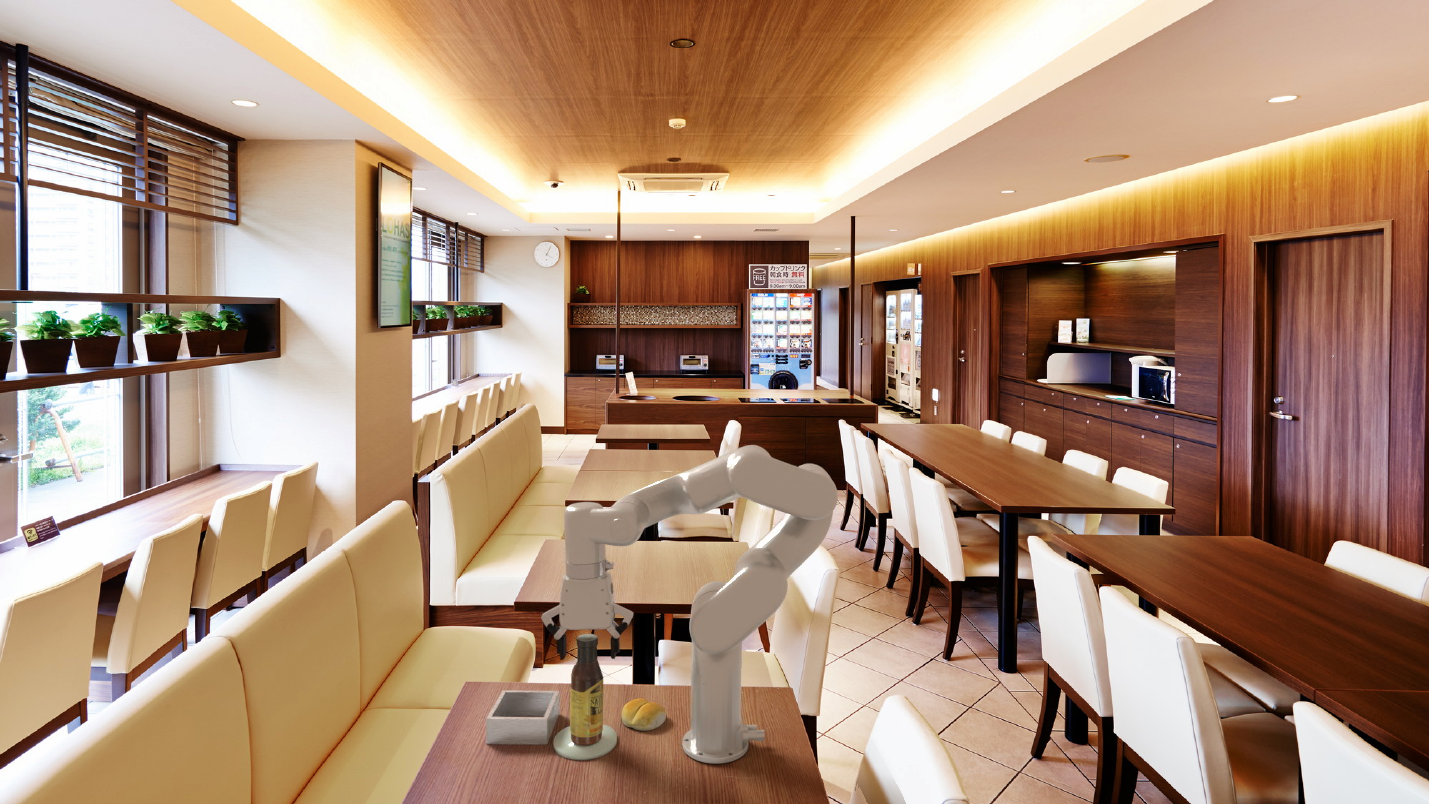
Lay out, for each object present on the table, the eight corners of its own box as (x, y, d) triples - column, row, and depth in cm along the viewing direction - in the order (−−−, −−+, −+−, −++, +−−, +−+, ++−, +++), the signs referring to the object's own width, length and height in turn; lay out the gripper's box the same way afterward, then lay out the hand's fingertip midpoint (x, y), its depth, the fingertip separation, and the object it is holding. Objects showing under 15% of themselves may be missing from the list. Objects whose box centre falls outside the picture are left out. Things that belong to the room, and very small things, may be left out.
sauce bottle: (596, 749, 138) (596, 646, 136) (564, 745, 139) (564, 643, 138) (608, 731, 144) (608, 633, 143) (577, 728, 146) (577, 630, 144)
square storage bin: (559, 714, 153) (559, 690, 152) (547, 744, 141) (546, 719, 141) (502, 713, 152) (502, 690, 152) (486, 744, 141) (485, 718, 140)
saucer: (620, 726, 148) (620, 722, 148) (612, 760, 136) (612, 756, 136) (560, 726, 148) (560, 722, 148) (547, 759, 136) (547, 755, 136)
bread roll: (638, 706, 157) (638, 688, 156) (671, 719, 151) (672, 701, 151) (611, 722, 150) (612, 703, 150) (645, 736, 145) (645, 717, 144)
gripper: (633, 562, 143) (635, 647, 144) (544, 563, 143) (547, 649, 144) (629, 574, 136) (632, 664, 137) (535, 575, 135) (538, 666, 137)
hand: (588, 656), depth 141 cm, fingers open, 9 cm apart
